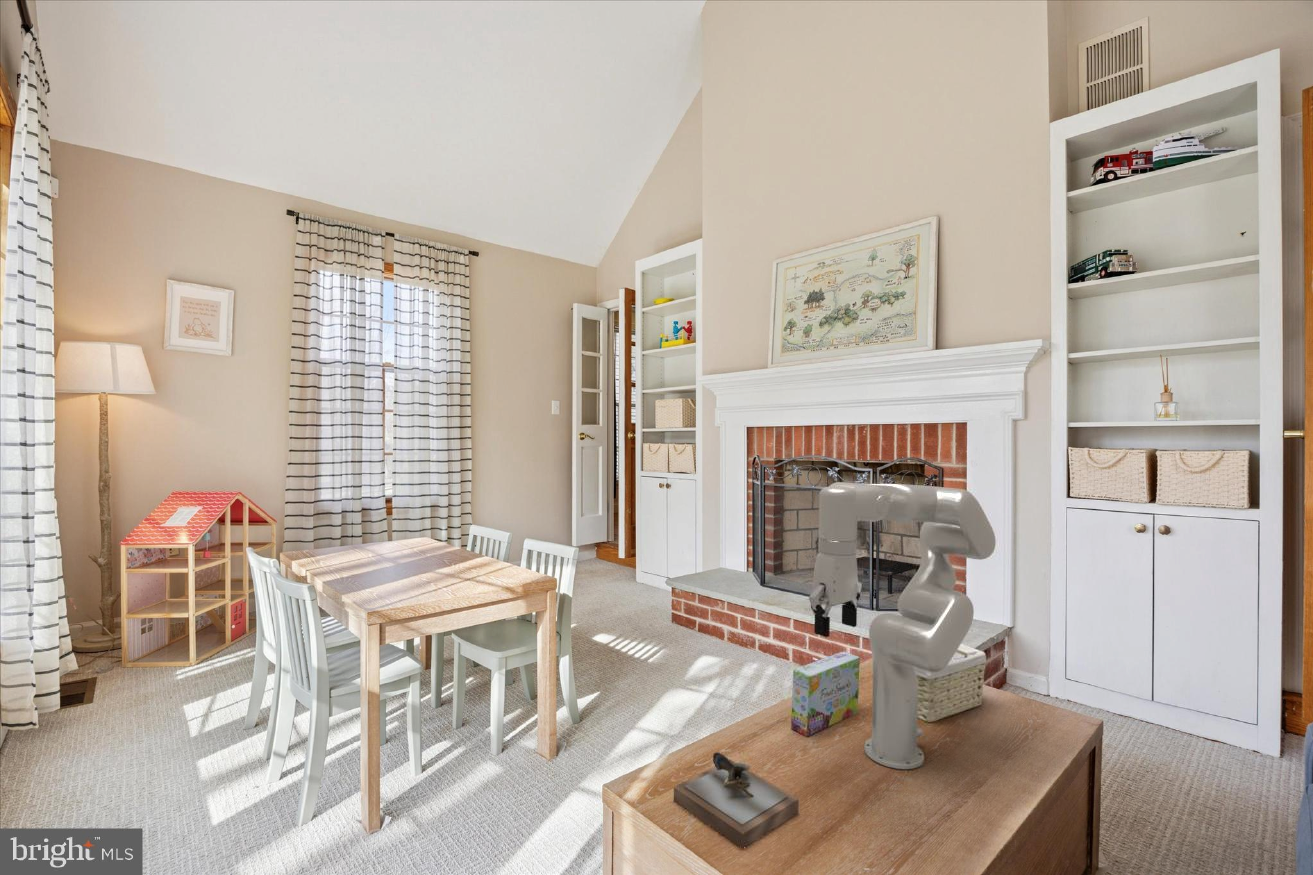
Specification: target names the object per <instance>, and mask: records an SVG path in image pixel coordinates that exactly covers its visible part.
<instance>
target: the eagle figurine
mask: <svg viewBox="0 0 1313 875" xmlns="http://www.w3.org/2000/svg"><path fill="white" fill-rule="evenodd" d="M729 759H730V758H728V757H727V756H725V755H724V754H722V753H720V752H714V753H713V755H712V761H713V762H712V763H713V765H714V767H716V768H717V770H722V769H723V770H726V771H728V773H729V775H728V778H727V779H726V780H725V781H724V785H723V787H724V786H725V785H731V786H733V787H734V786H735V787H738V788H741V789H742V790H743V791H744V792H745V793H746V794H747V795H749V796H752V797H753V795H752V794H751V793H749V792H748V791H747V790H746V789H745V788H747V787H749V786H750V784H751V783H746V782H745V783H742V782H743V780H744V779H746V778H747V777H746V776H743V777H742V776H741V774H742V772H743V771H747V770H749V771H750V769H751V766H750V765H748V764H746V763H744V762H743V763H742V762H735V763H734V764H733V763H732V762H731V761H730V760H731V759H730V760H729Z"/></svg>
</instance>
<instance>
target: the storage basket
mask: <svg viewBox="0 0 1313 875" xmlns="http://www.w3.org/2000/svg"><path fill="white" fill-rule="evenodd" d="M955 653H957V654H958V655H962V656H966V657H964V658H960V659H954V658H952V659H951V660H950V662H949V663H948V665H947V666H946V667H945V668H944V669H943V670H941V671H939V672H931V671H927V670H924V669H921V668H918V667H915V666H914V668H915V671H916V674H917V678H918V713H917V719H920V720H922V721H924V722H927V723H932V722H936V721H939V720H942V719H944V718H946V717H950V716H952V715H956V714H958V713H962V712H964V711H967V710H970V709H973V708H975V707H978V706H981V705H982V704H983V703H982V699H983V690H984V688H983V686H984V681H985V680H984V678H985V676H984V675H985V670H986V663H987V655H986V653H985V652H984V651H983V650H980V649H976V648H973V647H971V646H968V645H966V644H963V643H961V644H960V646H959V647H958V649H957V651H956V652H955Z"/></svg>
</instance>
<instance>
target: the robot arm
mask: <svg viewBox="0 0 1313 875" xmlns="http://www.w3.org/2000/svg"><path fill="white" fill-rule="evenodd" d="M818 502H819V504H818V507H819V508H818V554H816V558H815V562H814V568H813V576H812V577H813V580H812V593H811V594H810V595H809V596H808V600H809V603H810V608H811V610H812V614H813V615H814V626H813V628H814V629H813V630H814V631H813V633H814V634H816V635H817V636H822V637H824V638H829V637H830V635H831V634H830V630H831V629H830V627H831V626H830V625H831V624H830V623H831V619H830V618H831V617H830V616H829V614H830V611H831V609H832V607H835V606H839V605H841V604H842V605H841V623H842V625H845V626H849V627H851V628H855V627H857V624H858V623H857V621H858V620H857V619H858V618H857V617H858V607H859V599H860V598H861V592H862V587H863V584H862V583H861V582H860V581H859V576H858V575H859V573H858V562H857V554H858V552H857V549H858V548H857V545H858V540H857V539H858V522H860V521H861V522H872V523H873V522H874V523H876V522H879V521H882V520H883V521H888V522H897V523H898V522H899V523H923V524H922V525H921V526H920V530H919V545H920V556H921V557H920V559H921V560H920V565H919V568H918V569H917V571H916V572H915V573H914V575H913V577H911V579H910V581H909V582H908V584H907V585H906V587H905V588H904V589H903V591H902V593H901V594H900V596H899V597H898V600H897V610H898V612H899V614H900V615H899V614H894V613H882V614H878V615H877V616H876V617H874V618H873V620H872V621H871V623H870V625H869V629H868V639H869V644H870V645H869V646H870V649H871V650H870V651H871V656H872V703H871V704H872V710H871V712H872V713H871V714H872V715H871V737H870V738H868V739H866V741H865V742H864V752H865V754H866V755H867V756H868V757H869V758H870V759H871V760H873V762H875V763H878V764H880V765H883V766H885V767H888V768H892V769H898V770H913V769H916V768H919V767H920V766H922V765H924V762H925V755H924V752H923V750H922V749H921V748H920V747H919V746H918V744H917V743H918V739H919V738H920V737H921V736H923V735H924V731H923V729H922V728H921V727H918V717H917V713H918V678H917V674H916V671H915V668H914V666H915V667H918V668H921V669H924V670H927V671H931V672H939V671H941V670H943V669H944V668H945V667H946V666H947V665H948V663H949V662H950V660H951V659H953V657H954V656H955V654H956V653H957V652H956V651H957V649H958V647H959V646H960V644H963V641H964V639H965V638H966V636H967V634H968V633H969V631H970V628H971V627H972V624H973V620H974V615H975V614H974V612H975V611H974V610H975V609H974V604H973V602H972V600H971V599H970V597H969V596H968V595H966V594H965V593H963V592H961V591H958V590H956V589H955V590H954V588H955V586H956V583H957V576H956V572H955V570H954V567H953V565H952V564H951V561H950V559H949V555H951V556H955V557H962V558H966V559H971V560H986V559H988V558H990V557H991V555H992V554H993V553H994V552H995V549H996V542H997V541H996V536H995V535H996V534H995V531H994V530H993V527H992V525H991V523H990V521H989V519H988V517H987V515H986V513H985V511H984V509H983V507H982V506H981V504H980V503H979V501H978V500H977V498H976V497H975V496H974V495H973V494H972V493H971V492H970V491H968V490H966V489H963V488H953V487H946V486H945V487H943V486H942V487H941V486H935V485H933V486H932V485H919V484H905V483H903V484H902V483H863V482H861V483H860V482H859V483H857V482H845V481H843V482H842V481H841V482H840V481H837V482H833V483H831V484H830V485H829V486H826V487H823V488H821V489H820V492H819V501H818ZM822 605H823V606H824V607H823V606H822Z"/></svg>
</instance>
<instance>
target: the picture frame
mask: <svg viewBox="0 0 1313 875" xmlns="http://www.w3.org/2000/svg"><path fill="white" fill-rule="evenodd" d="M728 759H729V760H730V761H731V762H732V763H733V764H734V763H736V762H735V761H733V760H732V759H730V758H728ZM728 775H729V773H728V771H726V770H723V769H722V770H717V768H716V767H715V766H713V767H711V768H709V769H707V770H705V771H703V772H701V773H699V774H697V775H695V776H693V777H691V778H689V779H687V780H685V781H683V782H681V783H680V784H679V783H678V784H677V785H676V786H673V801H674V802H675V803H676V804H678V805H679V806H681V807H682V808H683V809H685V810H686V811H687V812H689V813H690V812H691V813H690V814H692V815H693V816H695V817H696V818H698V819H699V820H700V819H701V820H700V821H702V820H703V821H702V822H704V823H705V824H706V825H707V824H708V825H707V826H709V827H710V826H711V829H713V830H715V832H718V833H719V834H720V835H721V836H723V837H724V838H726V839H728V840H729V841H730V842H732V843H733V844H734V845H736V846H737V847H738V848H740V847H741V848H740V849H741V850H743V848H744V847H745V848H747V847H748V846H750V845H751V844H753V843H755V842H756V841H758V840H759V839H761V838H762V837H764V836H765V835H766V833H767V834H768V833H770V832H771V831H773V830H774V829H776V828H778V827H779V826H781V825H782V824H783V823H785V822H786V821H788V820H790V819H791V818H792V817H794V816H796V815H797V814H799V808H800V807H799V804H800V803H799V800H800V799H799V798H798V797H796V796H795V795H793V794H791V793H789V792H787V791H786V790H784V789H782V788H781V787H779V786H777V785H775V783H772V782H770V781H769V780H767V779H765V778H763V777H761V776H760V775H757V774H756V773H754V772H752V771H751V770H750V769H749V770H747V771H743V772H742V774H741V776H742V777H743V776H746V777H747V778H746V779H744V780H743V782H742V783H745V782H746V783H751V784H750V786H749V787H747V788H745V789H746V790H747V791H748V792H749V793H751V794H752V795H753V797H752V796H749V795H747V794H746V793H745V792H744V791H743V790H742V789H741V788H738V787H735V786H734V787H733V786H731V785H725V786H724V787H723V785H724V781H725V780H726V779H727V778H728ZM769 831H770V832H769ZM749 844H750V845H749ZM745 848H744V849H745Z"/></svg>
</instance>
